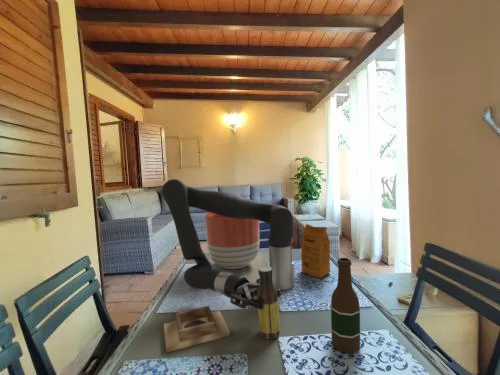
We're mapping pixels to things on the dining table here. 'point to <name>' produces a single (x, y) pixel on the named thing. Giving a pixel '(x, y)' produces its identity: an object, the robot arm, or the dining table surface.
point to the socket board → (194, 328)
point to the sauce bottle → (268, 305)
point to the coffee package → (315, 251)
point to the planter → (231, 240)
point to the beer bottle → (345, 311)
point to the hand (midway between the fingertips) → (271, 299)
